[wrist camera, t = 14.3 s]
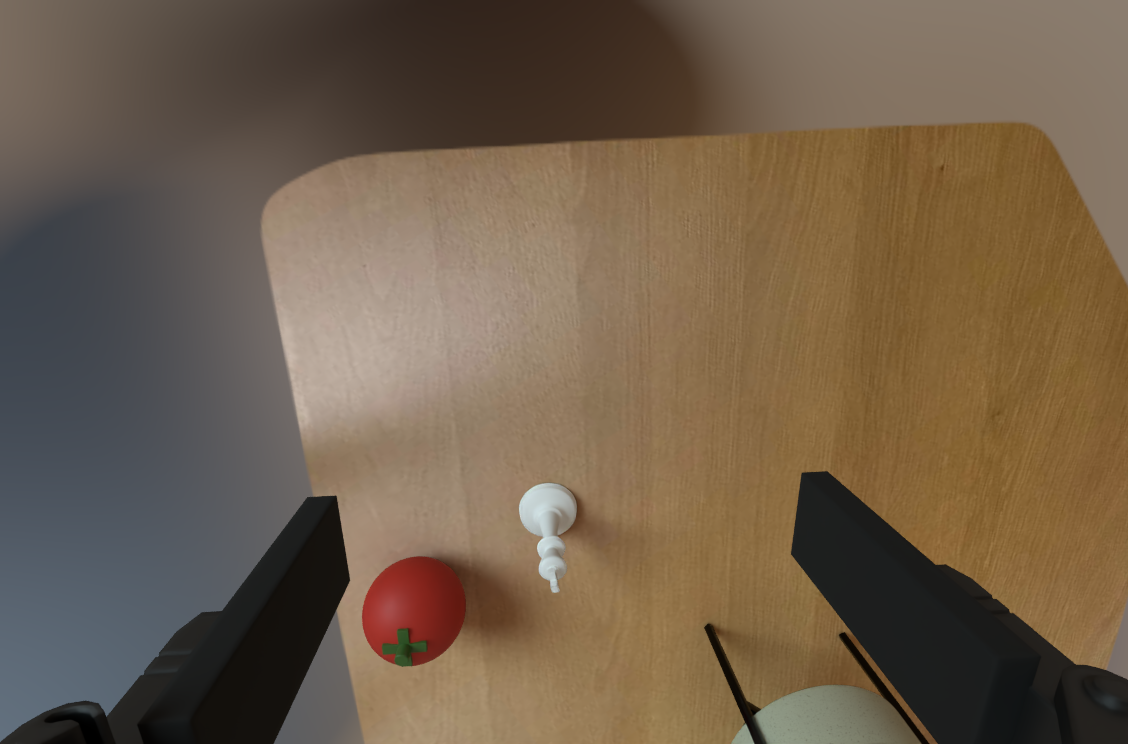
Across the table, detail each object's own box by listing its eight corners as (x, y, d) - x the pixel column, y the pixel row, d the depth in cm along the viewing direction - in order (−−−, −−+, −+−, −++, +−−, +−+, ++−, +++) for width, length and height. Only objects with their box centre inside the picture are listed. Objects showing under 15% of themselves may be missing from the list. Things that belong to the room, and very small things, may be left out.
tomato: (372, 539, 45) (335, 618, 36) (467, 534, 45) (453, 611, 37) (383, 616, 47) (351, 708, 38) (473, 610, 48) (462, 699, 39)
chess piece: (571, 477, 44) (583, 550, 35) (581, 526, 46) (596, 610, 36) (513, 489, 44) (510, 566, 35) (526, 538, 46) (526, 624, 36)
